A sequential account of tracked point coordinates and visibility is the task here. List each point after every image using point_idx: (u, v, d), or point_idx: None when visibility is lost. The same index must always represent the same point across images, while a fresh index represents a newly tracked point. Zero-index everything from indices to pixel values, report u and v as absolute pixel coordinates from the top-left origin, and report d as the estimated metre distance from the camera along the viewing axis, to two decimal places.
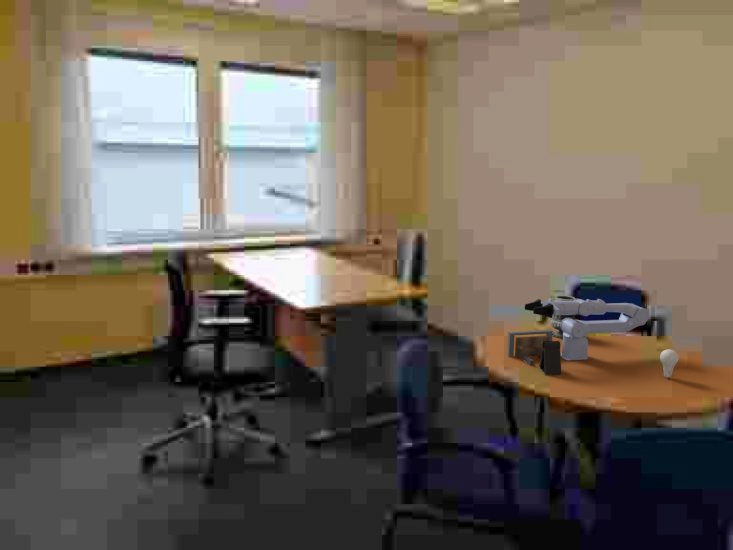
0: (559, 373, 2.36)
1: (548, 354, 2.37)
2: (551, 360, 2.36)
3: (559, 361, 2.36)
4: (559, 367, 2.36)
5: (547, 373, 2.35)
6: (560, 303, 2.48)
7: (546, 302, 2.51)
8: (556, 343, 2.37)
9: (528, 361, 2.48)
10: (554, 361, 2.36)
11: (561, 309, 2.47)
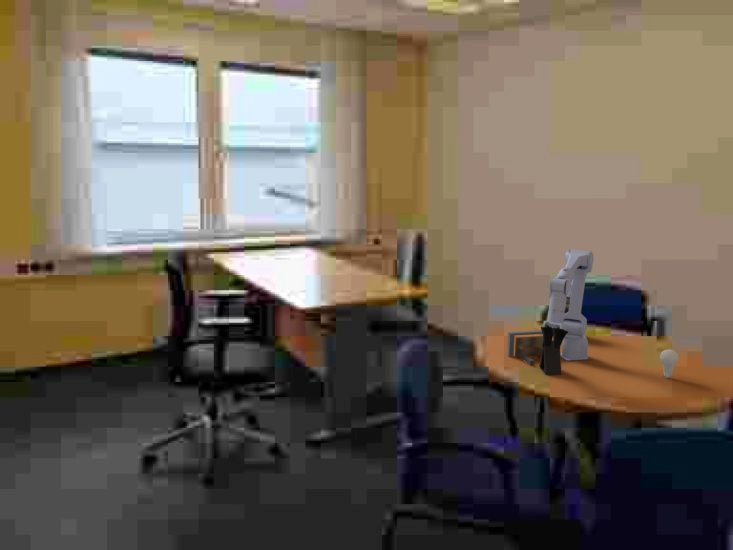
0: (559, 373, 2.36)
1: (548, 354, 2.37)
2: (551, 360, 2.36)
3: (559, 361, 2.36)
4: (559, 367, 2.36)
5: (547, 373, 2.35)
6: (552, 313, 2.29)
7: (547, 323, 2.33)
8: None
9: (528, 361, 2.48)
10: (554, 361, 2.36)
11: (559, 314, 2.29)
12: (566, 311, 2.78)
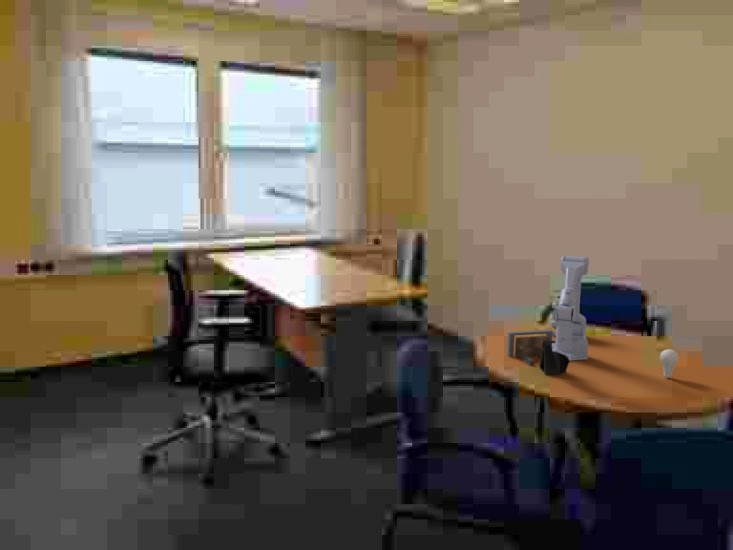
0: (559, 373, 2.36)
1: (548, 354, 2.37)
2: (551, 360, 2.36)
3: None
4: None
5: (547, 373, 2.35)
6: (560, 342, 2.26)
7: None
8: None
9: (528, 361, 2.48)
10: (554, 361, 2.36)
11: (567, 343, 2.25)
12: None
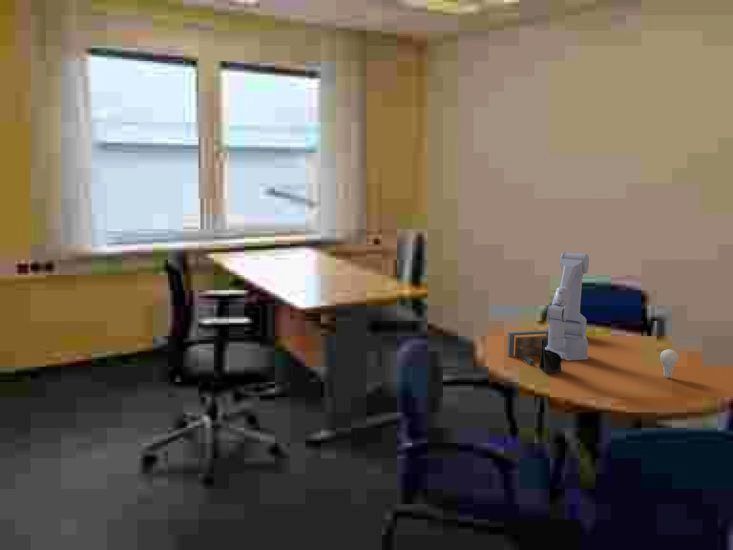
0: (559, 370, 2.35)
1: (547, 351, 2.37)
2: None
3: None
4: None
5: (547, 370, 2.35)
6: (552, 341, 2.32)
7: None
8: None
9: (528, 361, 2.48)
10: None
11: (559, 341, 2.31)
12: None
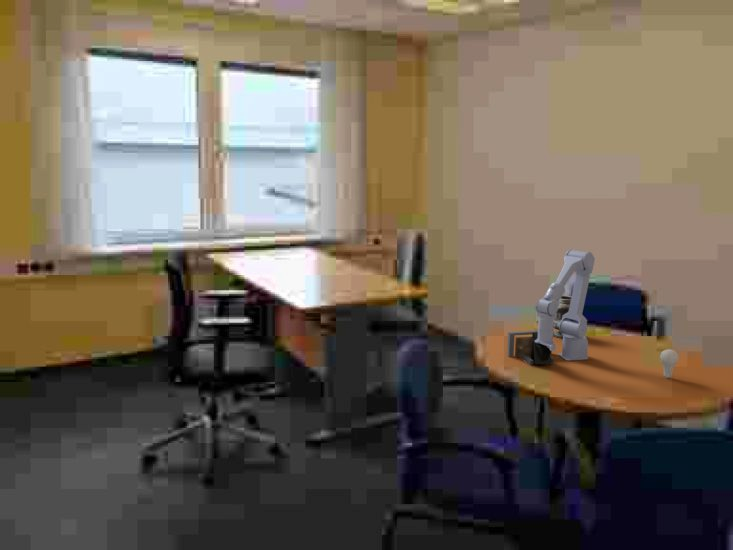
0: (549, 362, 2.44)
1: None
2: None
3: None
4: (549, 357, 2.45)
5: (537, 362, 2.44)
6: (542, 334, 2.41)
7: None
8: None
9: (528, 361, 2.48)
10: None
11: (548, 334, 2.40)
12: (566, 311, 2.78)
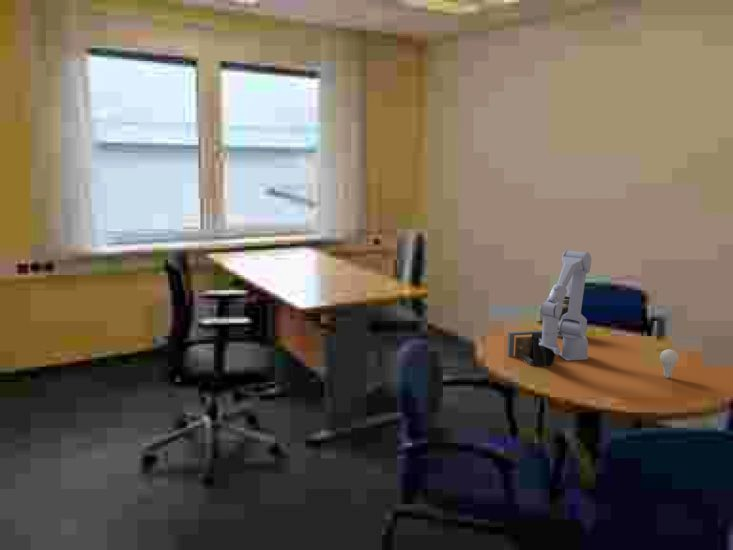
0: None
1: (537, 346, 2.46)
2: (540, 351, 2.46)
3: None
4: None
5: (536, 364, 2.45)
6: (546, 336, 2.37)
7: None
8: None
9: (528, 361, 2.48)
10: None
11: (552, 337, 2.36)
12: (566, 311, 2.78)
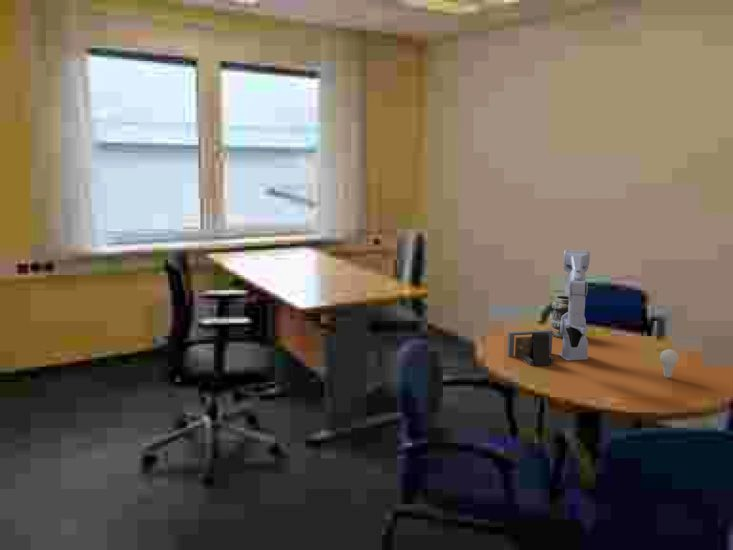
0: (548, 364, 2.45)
1: (537, 346, 2.46)
2: (540, 351, 2.46)
3: (548, 352, 2.46)
4: (548, 358, 2.46)
5: (536, 364, 2.45)
6: (572, 316, 2.31)
7: None
8: (545, 335, 2.46)
9: (528, 361, 2.48)
10: (543, 352, 2.46)
11: (579, 317, 2.30)
12: (566, 311, 2.78)
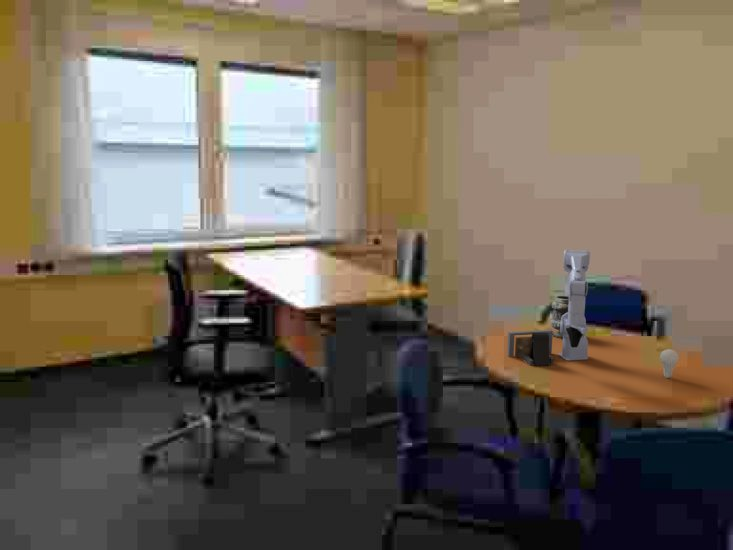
0: (548, 364, 2.45)
1: (537, 346, 2.46)
2: (540, 351, 2.46)
3: (548, 352, 2.46)
4: (548, 358, 2.46)
5: (536, 364, 2.45)
6: (572, 316, 2.31)
7: None
8: (545, 335, 2.46)
9: (528, 361, 2.48)
10: (543, 352, 2.46)
11: (579, 317, 2.30)
12: (566, 311, 2.78)
